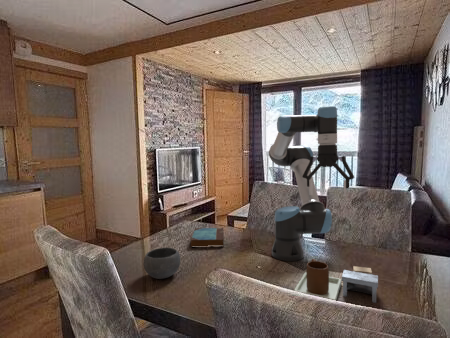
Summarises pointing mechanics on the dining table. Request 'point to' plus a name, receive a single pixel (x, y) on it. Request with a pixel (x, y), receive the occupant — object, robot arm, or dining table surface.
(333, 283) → the tray
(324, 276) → the mug
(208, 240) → the book
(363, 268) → the block
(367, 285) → the gray bench
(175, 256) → the bowl
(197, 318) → the dining table surface
